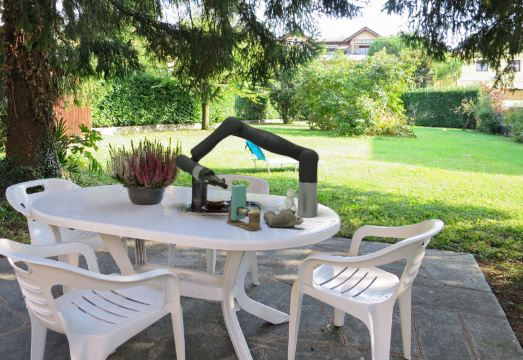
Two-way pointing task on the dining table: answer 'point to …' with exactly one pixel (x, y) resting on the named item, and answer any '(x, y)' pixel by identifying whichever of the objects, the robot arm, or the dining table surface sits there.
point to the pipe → (282, 218)
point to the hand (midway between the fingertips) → (226, 187)
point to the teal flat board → (238, 201)
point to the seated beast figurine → (289, 201)
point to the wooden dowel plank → (251, 226)
